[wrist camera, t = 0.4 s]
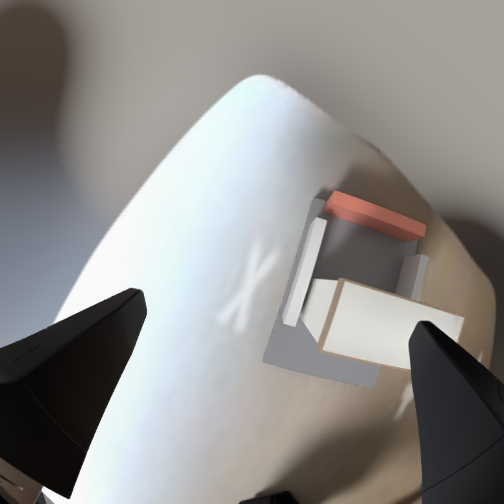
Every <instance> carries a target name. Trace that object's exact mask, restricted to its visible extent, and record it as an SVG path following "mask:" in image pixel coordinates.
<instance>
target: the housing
mask: <svg viewBox="0 0 504 504" xmlns="http://www.w3.org/2000/svg"><path fill="white" fill-rule="evenodd" d="M425 231H426V225H425V224H423V223H420V222H418V221H416V220H413V219H411V218H408V217H406V216H404V215H401V214H399V213H396V212H394V211H391V210H388V209H386V208H383V207H381V206H378V205H375V204H373V203H370V202H367V201H364V200H362V199H359V198H356V197H353V196H350V195H347V194H344V193H342V192H339V191H336V190H335V191H334V192H333V194H332V195H331V196H330V198H329V199H328V200H327V201H325V200H322V199H318V198H315V197H314V198H313V200H312V202H311V205H310V209H309V213H308V216H307V220H306V223H305V227H304V230H303V234H302V237H301V241H300V244H299V247H298V251H297V254H296V257H295V261H294V264H293V267H292V271H291V274H290V277H289V280H288V284H287V287H286V290H285V293H284V296H283V299H282V302H281V306H280V309H279V312H278V315H277V318H276V321H275V324H274V327H273V330H272V333H271V336H270V339H269V342H268V345H267V347H266V350H265V353H264V356H263V362H264V363H267V364H271V365H274V366H278V367H282V368H285V369H289V370H293V371H296V372H300V373H304V374H308V375H312V376H316V377H321V378H325V379H329V380H334V381H339V382H343V383H348V384H353V385H359V386H364V387H369V388H373V387H374V384H375V382H376V380H377V377H378V375H379V372H380V370H381V367H382V366H378V365H374V364H369V363H364V362H360V361H355V360H351V359H347V358H342V357H338V356H334V355H330V354H326V353H322V352H319V351H318V349H317V347H316V346H317V344H318V343H317V342H316V340H315V339H314V337H313V336H312V334H311V333H310V331H309V330H308V328H307V327H306V325H305V324H304V322H303V321H302V319H301V318H300V316H299V315H300V312H301V309H302V306H303V302H304V299H305V296H306V293H307V290H308V287H309V283H310V280H311V278H312V279H324V280H337V281H338V279H339V278H345V279H348V280H351V281H354V282H358V283H361V284H364V285H367V286H371V287H374V288H377V289H380V290H383V291H387V292H390V293H393V294H396V295H400V296H403V297H406V298H409V299H412V300H416V301H419V299H420V295H421V291H422V287H423V283H424V279H425V275H426V270H427V266H428V261H429V257H428V256H425V255H423V254H418V255H416V250H417V245H418V240H419V239H421V238H424V237H425Z"/></svg>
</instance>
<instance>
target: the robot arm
mask: <svg viewBox="0 0 504 504" xmlns="http://www.w3.org/2000/svg"><path fill="white" fill-rule="evenodd" d="M146 315H147V307H146V303H145V298H144V293H143V291H142V290H140V289H136V288H129V289H127V290H125V291H123V292H121V293H118V294H116V295H114V296H112V297H110V298H108V299H106V300H104V301H101V302H99V303H97V304H95V305H93V306H91V307H89V308H87V309H84V310H82V311H80V312H78V313H76V314H74V315H72V316H70V317H68V318H66V319H64V320H62V321H59V322H57V323H55V324H53V325H51V326H49V327H47V328H46V329H43V330H41V331H39V332H37V333H35V334H33V335H30V336H28V337H26V338H24V339H22V340H19V341H17V342H14V343H12V344H10V345H7V346H5V347H2V348H0V504H46V501H45V498H44V496H43V493H42V491H41V490H42V488H43V486H44V487H46V488H48V489H50V490H52V491H53V492H55V493H57V494H59V495H61V496H63V497H65V498H67V499H70V497H71V495H72V492H73V489H74V486H75V483H76V481H77V478H78V475H79V473H80V470H81V467H82V465H83V462H84V460H85V457H86V455H87V452H88V449H89V447H90V444H91V442H92V439H93V437H94V435H95V432H96V430H97V428H98V425H99V423H100V421H101V418H102V416H103V414H104V412H105V409H106V407H107V405H108V403H109V401H110V398H111V396H112V394H113V392H114V390H115V388H116V386H117V383H118V381H119V379H120V377H121V375H122V373H123V371H124V369H125V367H126V365H127V363H128V361H129V359H130V357H131V355H132V352H133V350H134V347H135V345H136V342H137V339H138V337H139V334H140V331H141V329H142V326H143V323H144V321H145V318H146ZM408 348H409V357H410V367H411V379H412V387H413V393H414V400H415V406H416V413H417V421H418V429H419V438H420V449H421V464H422V491H423V492H422V504H504V384H503V383H502V382H501V381H500V380H499V379H497V377H495V376H494V375H493V374H492V373H491V372H490V371H489V370H488V369H486V368H485V367H484V366H483V365H482V364H481V363H480V362H479V361H477V360H476V359H475V358H474V357H473V356H472V355H470V354H469V353H468V352H467V351H466V350H465V349H463V348H462V347H461V346H460V345H459V344H458V343H456V342H455V341H454V340H453V339H452V338H450V337H449V336H448V335H447V334H445V333H444V332H443V331H442V330H441V329H439V328H438V327H437V326H436V325H434V324H433V323H432V322H431V321H423V320H421V321H419V322H418V323H417V324H416V326H415V328H414V330H413V332H412V334H411V336H410V338H409V342H408ZM239 504H300V503H299V501H298V500H297V499H296V498H295V497H294V495H293V494H292V493H291V492H289V491H285V492H282V493H278V494H275V495H272V496H268V497H264V498H260V499H256V500H252V501H248V502H243V503H239Z"/></svg>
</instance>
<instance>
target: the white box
mask: <svg viewBox="0 0 504 504" xmlns="http://www.w3.org/2000/svg"><path fill="white" fill-rule="evenodd" d="M299 316H300V318H301V319H302V321H303V322H304V324H305V325H306V327H307V328H308V330H309V331H310V333H311V334H312V336H313V337H314V339H315V340H316V342H317V343H318V344H317V346H316V347H317V349H318V351H319V352H322V353H326V354H330V355H334V356H338V357H342V358H347V359H351V360H355V361H360V362H364V363H369V364H374V365H378V366H383V367H388V368H394V369H399V370H404V371H410V372H411V367H410V357H409V348H408V342H409V338H410V336H411V334H412V332H413V330H414V328H415V326H416V324H417V323H418V322H419V321H421V320H423V321H431V322H432V323H433V324H434V325H436V326H437V327H438V328H439V329H441V330H442V331H443V332H444V333H445V334H447V335H448V336H449V337H450V338H452V339H453V340H454V341H455V342H456V343H458V341H459V338H460V335H461V332H462V329H463V325H464V322H465V318H466V316H464V315H461V314H457V313H454V312H451V311H448V310H445V309H441V308H438V307H435V306H432V305H429V304H425V303H422V302H419V301H416V300H412V299H409V298H406V297H403V296H400V295H396V294H393V293H390V292H387V291H383V290H380V289H377V288H374V287H371V286H367V285H364V284H361V283H358V282H354V281H351V280H348V279H345V278H339V279H338V281H337V280H324V279H312V278H311V280H310V283H309V287H308V290H307V293H306V296H305V299H304V302H303V306H302V309H301V312H300V315H299Z"/></svg>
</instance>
